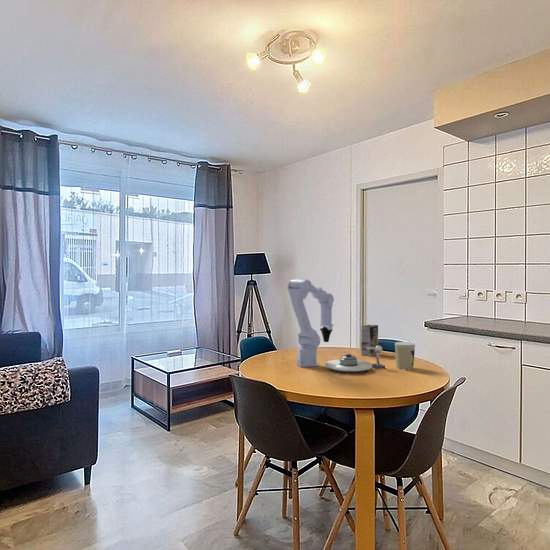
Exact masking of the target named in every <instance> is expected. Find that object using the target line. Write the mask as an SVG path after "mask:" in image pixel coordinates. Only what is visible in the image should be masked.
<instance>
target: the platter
mask: <svg viewBox="0 0 550 550" xmlns="http://www.w3.org/2000/svg"><path fill="white" fill-rule="evenodd" d="M372 364H373V363H370V362H369V361H365V360H361V359H357V365H356V366H342V365H340V358H339V359H331V360H327V361H326V362H325V364H324V365H325V367H326V368H328V369H329V370H330V369H334V370H340V371H364V370H368V371H369V370H370V369H372V368H373V367H372Z"/></svg>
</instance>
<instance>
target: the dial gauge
mask: <svg viewBox="0 0 550 550" xmlns="http://www.w3.org/2000/svg"><path fill="white" fill-rule="evenodd" d="M366 349H375V351H376V352H377V354H376V363H371V364H372V368H373V369H374V368H375V370H378V369H377V368H384V369H386V365H384V364H382V363H380V354H381V353H382V352H383V347H382V345H379V344H378V346H376V347H366Z"/></svg>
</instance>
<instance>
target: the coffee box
mask: <svg viewBox="0 0 550 550" xmlns="http://www.w3.org/2000/svg"><path fill="white" fill-rule="evenodd" d="M360 330H361V336H360V337H361V338H360V342H361V345H360V346H361V350H360V351H361V352H360V355H361V356H368V357H372V356H375V355H376V356H377V352H376V351H375V349H366V347H376V346H378V345H379V325H378V324H377V325H376V324H365V325H361V329H360Z"/></svg>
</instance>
